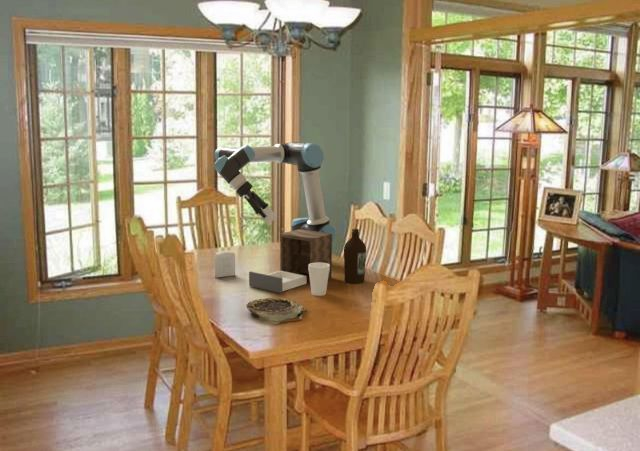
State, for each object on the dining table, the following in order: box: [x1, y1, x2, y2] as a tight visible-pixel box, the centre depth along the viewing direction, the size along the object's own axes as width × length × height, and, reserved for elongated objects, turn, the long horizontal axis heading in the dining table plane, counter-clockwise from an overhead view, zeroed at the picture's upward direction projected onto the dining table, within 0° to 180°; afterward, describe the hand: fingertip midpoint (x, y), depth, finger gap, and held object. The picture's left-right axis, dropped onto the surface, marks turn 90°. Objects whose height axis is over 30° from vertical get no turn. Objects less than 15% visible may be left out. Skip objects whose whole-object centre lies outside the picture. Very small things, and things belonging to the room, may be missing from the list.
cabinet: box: [279, 229, 333, 280], centre depth 315 cm, size 15×19×22 cm
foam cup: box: [308, 263, 330, 297], centre depth 288 cm, size 10×9×13 cm
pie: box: [245, 296, 307, 326], centre depth 260 cm, size 28×27×5 cm
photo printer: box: [214, 250, 236, 278], centre depth 317 cm, size 10×4×12 cm, turn 123°
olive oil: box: [343, 228, 367, 284], centre depth 309 cm, size 11×11×25 cm
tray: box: [248, 270, 308, 294], centre depth 301 cm, size 20×19×7 cm
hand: (272, 220), depth 297 cm, fingers open, 13 cm apart
